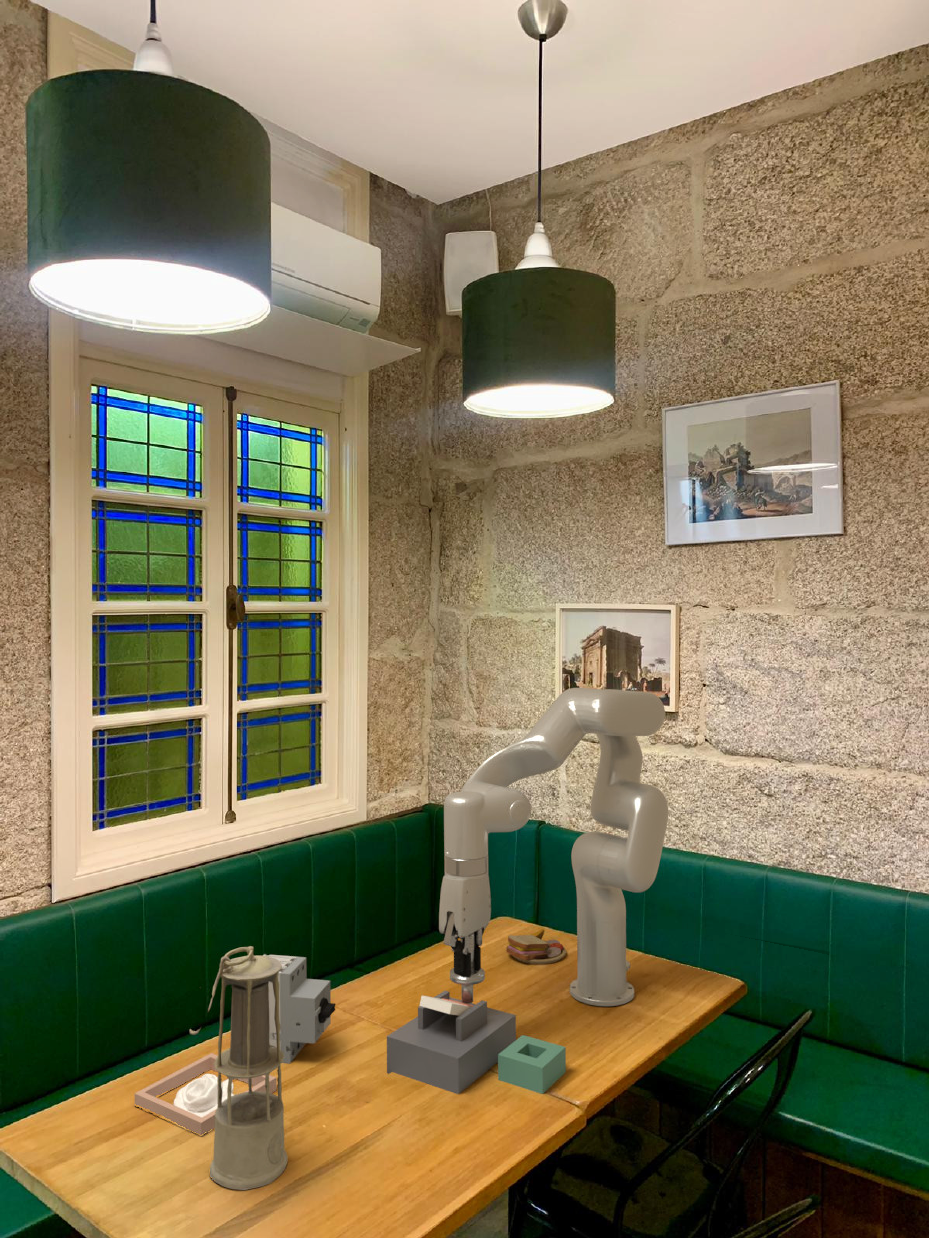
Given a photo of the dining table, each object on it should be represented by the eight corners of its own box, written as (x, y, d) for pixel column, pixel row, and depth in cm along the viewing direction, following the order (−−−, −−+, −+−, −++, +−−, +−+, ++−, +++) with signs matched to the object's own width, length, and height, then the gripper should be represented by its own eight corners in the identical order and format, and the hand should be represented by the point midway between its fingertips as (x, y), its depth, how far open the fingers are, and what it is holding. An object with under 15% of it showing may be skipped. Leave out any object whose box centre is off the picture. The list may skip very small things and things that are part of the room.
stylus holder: (522, 1061, 149) (522, 1034, 149) (565, 1074, 145) (565, 1046, 145) (498, 1082, 143) (498, 1054, 143) (542, 1096, 138) (542, 1067, 138)
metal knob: (462, 990, 158) (462, 922, 158) (491, 998, 154) (491, 929, 154) (443, 1003, 153) (443, 933, 153) (472, 1011, 149) (472, 940, 149)
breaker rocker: (453, 1010, 155) (455, 1000, 156) (482, 1019, 152) (484, 1008, 153) (419, 1005, 147) (421, 994, 147) (449, 1014, 144) (452, 1002, 144)
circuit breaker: (324, 1066, 148) (324, 976, 148) (244, 1059, 151) (244, 970, 151) (340, 1045, 155) (339, 959, 155) (263, 1038, 158) (262, 954, 158)
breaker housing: (448, 1029, 161) (448, 977, 161) (515, 1049, 153) (515, 994, 153) (386, 1072, 146) (386, 1014, 146) (458, 1097, 138) (458, 1035, 138)
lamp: (300, 1170, 120) (298, 948, 120) (205, 1209, 112) (204, 971, 112) (269, 1135, 128) (267, 927, 128) (178, 1168, 121) (177, 947, 121)
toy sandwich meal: (576, 961, 194) (576, 939, 194) (519, 970, 189) (519, 948, 189) (550, 942, 205) (550, 921, 205) (496, 950, 200) (496, 929, 200)
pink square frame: (211, 1064, 149) (211, 1052, 149) (276, 1089, 141) (276, 1077, 141) (134, 1106, 136) (134, 1093, 136) (201, 1136, 128) (201, 1122, 128)
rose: (251, 1069, 139) (211, 1100, 130) (251, 1098, 139) (212, 1131, 130) (198, 1058, 143) (156, 1088, 134) (198, 1086, 143) (156, 1117, 134)
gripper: (472, 851, 162) (473, 952, 162) (421, 873, 149) (422, 983, 149) (508, 857, 158) (509, 960, 158) (458, 879, 145) (460, 993, 145)
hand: (467, 970), depth 154 cm, fingers closed on metal knob
